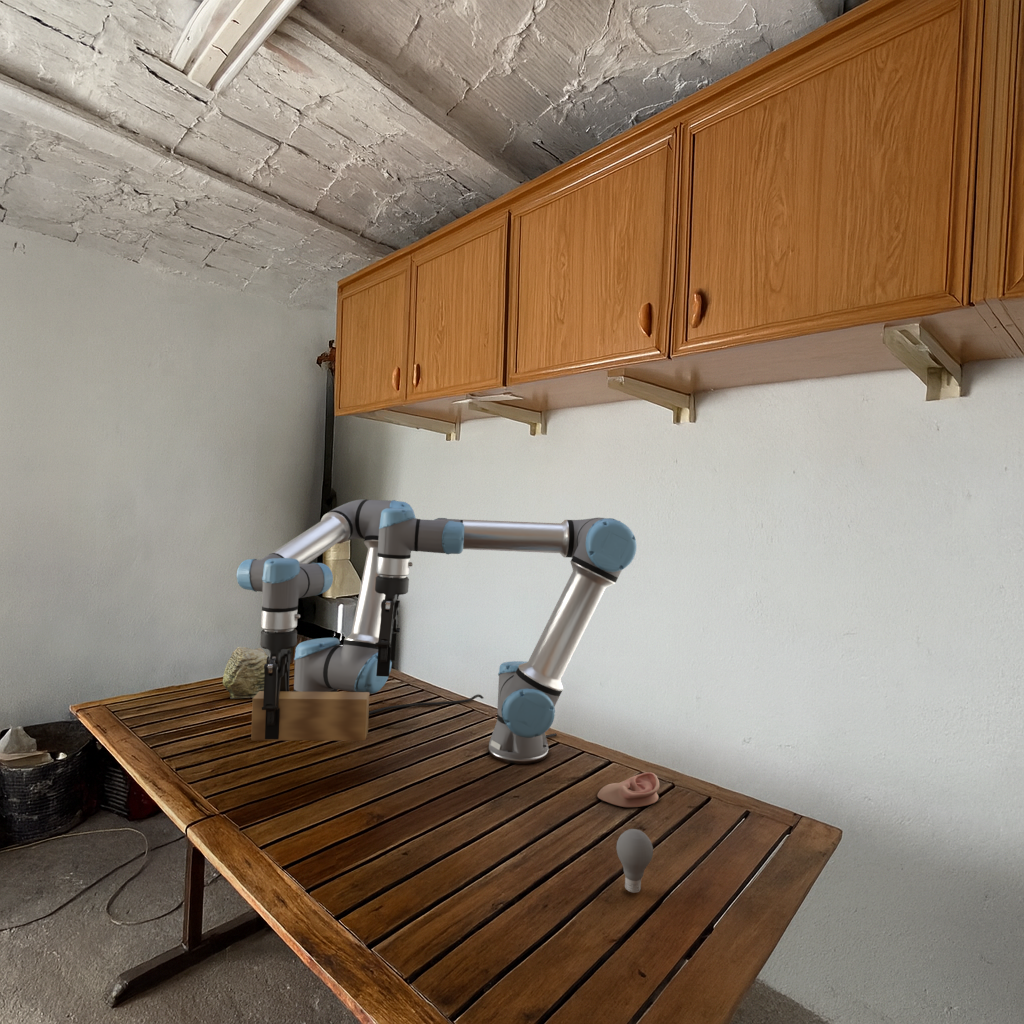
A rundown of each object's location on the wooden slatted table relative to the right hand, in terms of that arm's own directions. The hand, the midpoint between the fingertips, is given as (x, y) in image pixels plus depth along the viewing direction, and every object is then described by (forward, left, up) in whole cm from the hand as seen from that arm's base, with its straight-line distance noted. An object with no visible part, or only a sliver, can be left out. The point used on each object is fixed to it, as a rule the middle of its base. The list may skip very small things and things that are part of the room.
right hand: (386, 667), depth 146 cm
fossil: (+21, -69, -25) cm, 77 cm away
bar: (+16, -2, -15) cm, 22 cm away
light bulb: (-26, +59, -25) cm, 69 cm away
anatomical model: (-47, +31, -25) cm, 61 cm away
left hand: (+23, -5, -14) cm, 27 cm away
